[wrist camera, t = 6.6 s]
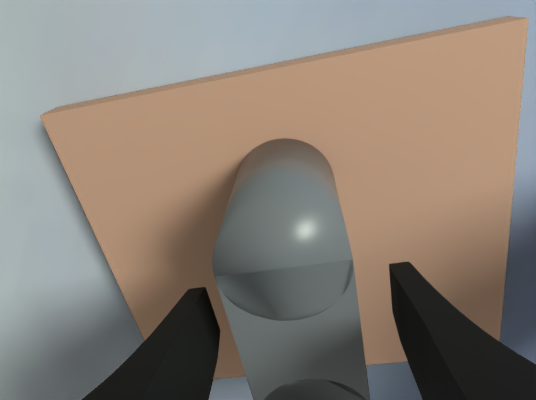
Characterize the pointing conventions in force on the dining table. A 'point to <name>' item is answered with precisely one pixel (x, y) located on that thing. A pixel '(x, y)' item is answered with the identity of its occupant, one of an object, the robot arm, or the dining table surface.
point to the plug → (290, 277)
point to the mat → (339, 157)
